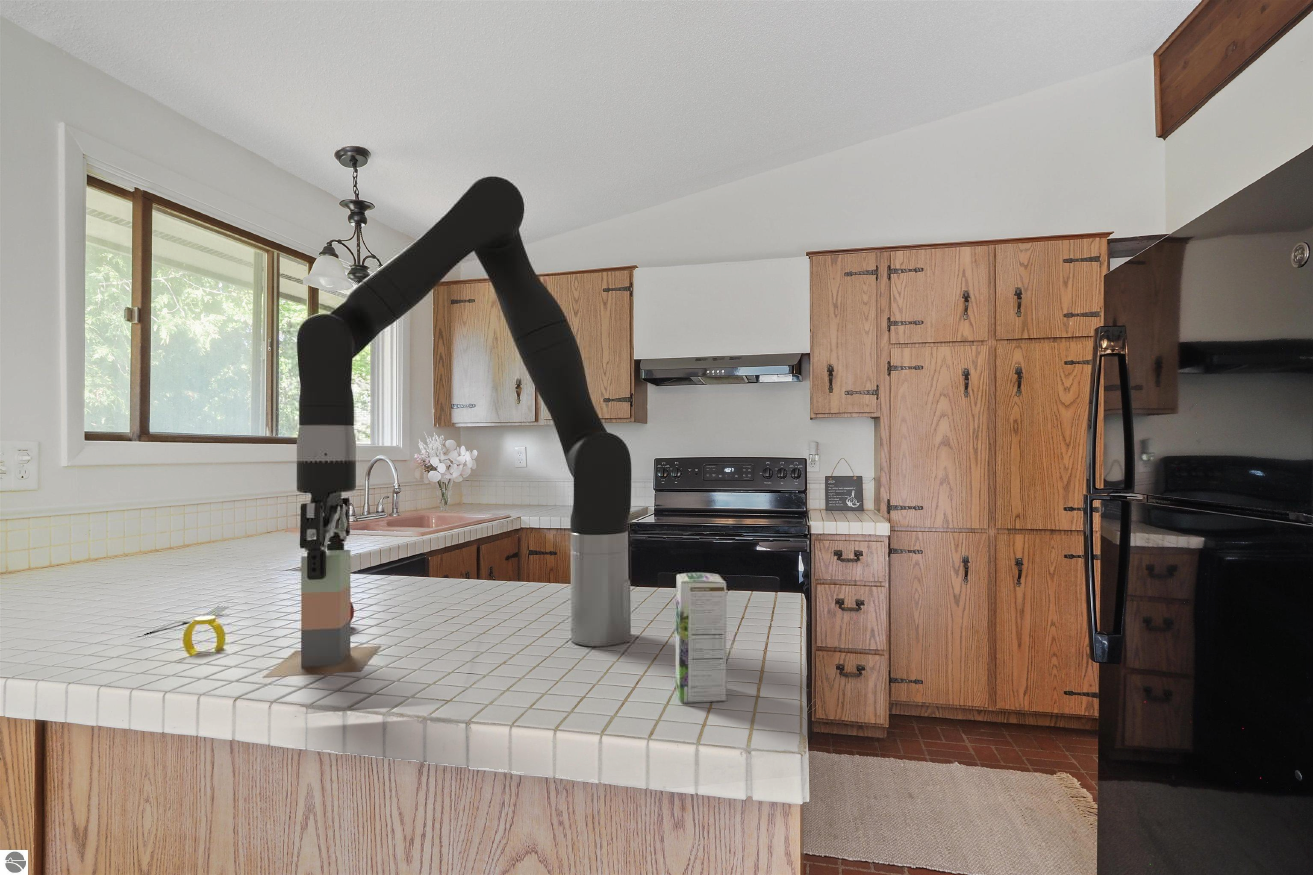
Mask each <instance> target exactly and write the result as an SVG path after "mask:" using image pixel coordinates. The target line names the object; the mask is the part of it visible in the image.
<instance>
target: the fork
mask: <svg viewBox="0 0 1313 875" xmlns="http://www.w3.org/2000/svg"><path fill="white" fill-rule="evenodd" d="M229 607H230V606H229V605H227V606H226V605H225V606H223V605H218V606H216V607H214V608H213V609H210V610H209V611H207V612H205V613H204V614H202V615H200V616H215V617H217V616H218V615H219V614H221V613H223V612H224V611H225V610H227V609H228V608H229ZM200 616H198V617H200ZM189 622H190V621H187V620H186V621H185V620H175V621H171V622H169V623H166V624H162V625H160V626H157V627H154V628H152V629H149V630H147V631H144V632H143V631H142V633H149V632H152V633H154V632H157V631H159V630H161V629H164V628H166V627H169V626H172V625H174V624H178V623H184V624H190V623H189ZM153 631H154V632H153ZM149 634H150V633H149Z"/></svg>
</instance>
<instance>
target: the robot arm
mask: <svg viewBox="0 0 1313 875" xmlns="http://www.w3.org/2000/svg"><path fill="white" fill-rule="evenodd" d="M524 214H525V202H524V197H523V195H522V194H521V192H520V189H518V187H517V186H516V185H514V184H513V182H511V181H510V180H508V179H506V178H503V177H500V176H485V177H482V178H479V179H477V180H476V181H474V182H473V183H472V184H471V185H470V186H469V187H468V189H467V190H466V191H464V193H462V195H461V196H460V198H459V199H458V200H457V201H456V202H455V203H454V204H453V205H452V206H451V207H450V209H449V210H448V211H447V212H446V213H445V214H444V215H443V216H442V217H440V219H438V220H437V221H436V222H435V223H434V224H433V225H432V226H431V227H430V228H429V229H427V230H426V232H425V233H423V234H421V236H420V237H418V238H417V239H415V241H413V242H412V243H411V244H410V245H408V246H406V248H405V249H403V250H402V251H400V253H398V254H397V255H395V256H394V257H393V258H392V259H390V260H389V261H386V263H384V264H383V265H382V266H380V267H379V268H378V269H377V270H375V271H374V272H372V273H371V274H370V275H369V276H367V277H366V278H364V279H363V280H362V281H361V282H360V283H358V284H357V285H356V286H354V288H353V289H352V290H351V291H350V292H349V294H348V295H347V297H346V300H344V301H343V302H342V303H341V304H340V305H338V306H337V307H335V309H333V310H332V311H331V312H330V313H325V312H324V313H323V312H322V313H315V314H312V315H311V316H309V317H307V318H306V319H305V320H304V321H303V322H302V323H301V324H300V326H299V328H298V331H297V336H296V354H297V355H296V356H297V358H296V359H297V367H298V376H299V377H298V379H299V386H300V387H299V399H298V431H297V432H298V433H297V439H296V491H297V492H299V493H300V494H301V493H302V494H310V500H309V501H310V502H301V503H300V508H299V509H300V515H299V516H300V517H299V518H300V519H299V521H300V522H299V523H300V524H299V525H300V526H299V547H300V549H302V550H303V549H304V552H306V554H307V578H308V579H309V580H319V579H323V578H325V577H326V551H330V550H345V542H347V540H348V537H349V536H350V534H351V530H350V529H351V527H350V525H351V522H350V518H351V516H350V515H351V514H350V501H351V500H350V497H349V496H343V495H342V493H349V492H350V493H351V492H353V491H355V490H356V489H357V440H356V434H355V433H356V432H355V402H354V401H355V400H354V399H355V398H354V392H353V388H352V382H353V379H352V376H353V359H354V358H355V357H356V356H358V355H359V354H360V353H361V352H362V351H363V350H364V349H365V348H366V347H367V346H369V344H371V343H372V341H374V340H375V338H376V337H377V336H378V335H379V334H380V333H381V332H382V331H384V330H385V329H387V328H388V327H390V326H391V325H394V323H395V322H396V321H398V320H399V319H400V318H402V317H403V316H404V315H405V314H407V313H408V312H409V311H411V309H414V307H415V306H417V305H418V304H419V303H420V302H422V300H424V298H426V296H427V295H429V294H430V292H431V291H433V290H434V288H435V287H436V286H437V285H438V284H439V283H440V282H441V281H442V280H443V279H444V278H445V277H446V276H447V275H448V274H449V273H450V272H451V271H452V270H453V269H454V268H455V267H456V266H457V265H458V264H459V263H460V262H462V261H463V259H465V258H466V257H468V256H469V255H471V253H473V252H474V254H475V256H476V258H477V260H478V261H479V263H480V265H481V267H482V269H483V270H484V272H485V274H486V275H487V277H488V279H489V281H490V283H491V285H492V287H493V290H494V293H495V296H496V298H497V299H496V300H497V302H498V304H499V307H500V310H501V313H502V316H503V317H504V320H505V323H506V325H507V327H508V330H509V332H510V335H511V338H512V341H513V343H514V345H515V348H516V349H517V351H518V354H519V356H520V359H521V361H522V363H523V365H524V367H525V369H526V371H527V373H528V375H529V378H530V379H531V382H532V384H533V385H534V387H535V389H536V391H537V393H538V395H539V397H540V399H541V401H542V402H543V404H544V406H545V407H546V409H547V411H548V413H549V415H550V417H551V419H552V422H553V425H554V428H555V431H556V433H557V436H558V438H559V442H560V446H561V449H562V452H563V455H564V459H565V462H566V466H567V468H568V471H569V472H570V474H571V476H572V477H573V499H572V500H573V504H572V511H571V514H570V521H569V522H570V523H569V524H570V525H569V526H570V533H569V534H570V640H571V641H572V643H574V644H576V645H580V646H587V647H607V646H614V645H619V644H621V643H629V642H631V641H632V632H631V631H632V630H631V628H632V625H631V624H632V623H631V621H632V620H631V619H632V618H631V617H632V616H631V615H632V614H631V581H630V579H629V535H628V534H629V532H628V531H629V529H628V528H629V527H628V526H629V524H628V523H629V518H630V514H631V511H632V510H631V507H632V506H631V505H632V459H631V457H632V456H631V452H630V450H629V448H628V445H627V444H626V443H625V440H623V439H622V438H621V437H620V436H618V435H616V434H615V433H612V432H609V431H607V429H606V427H605V425H604V424H603V422H602V420H601V417H600V415H599V413H598V412H597V409H596V408H595V406H594V403H593V400H592V397H591V394H590V389H589V384H588V381H587V375H586V371H585V366H584V362H583V361H584V360H583V356H582V354H581V351H580V347H579V344H578V342H577V341H578V340H577V338H576V337H575V335H574V332H573V330H572V329H573V328H572V327H571V325H570V322H569V321H568V319H567V316H566V314H565V313H564V310H563V308H562V307H561V305H560V304H559V302H558V301H557V299H556V298H555V297H554V295H553V294H552V292H550V291H549V289H548V288H547V287H546V285H545V284H544V283H543V282H542V280H541V279H540V277H539V276H538V275H537V273H536V272H535V270H534V268H533V266H532V264H531V261H530V259H529V256H528V254H527V251H526V248H525V246H524V243H523V239H522V236H521V232H520V227H521V226H522V223H523V221H524V216H525V215H524Z"/></svg>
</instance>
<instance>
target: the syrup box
mask: <svg viewBox="0 0 1313 875" xmlns="http://www.w3.org/2000/svg"><path fill="white" fill-rule="evenodd" d="M675 578H676V583H675V584H676V586H675V587H676V589H675V590H676V592H675V594H676V598H675V600H676V603H675V604H676V605H675V606H676V607H675V687H676V688H675V689H676V692H677V696H678V700H679V702H680V703H682V704H686V703H687V704H688V703H709V702H725V701H727V583H726V582H727V581H725V580H724V579H723V578H722V577H721V575H720V574H717V573H712V572H711V573H710V572H683V573H680V574H676V577H675Z"/></svg>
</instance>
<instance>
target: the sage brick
mask: <svg viewBox="0 0 1313 875" xmlns="http://www.w3.org/2000/svg"><path fill="white" fill-rule="evenodd" d="M300 572H301V573H300V594H301V593H317V592H340V591H342V590H343V589H345V588H346V587H347V586H349V585H350V584H351V549H344V550H330V551H327V550H326V577H325V578H323V579H319V580H309V579H308V578H307V553H305V554H303V555H301V556H300Z"/></svg>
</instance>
